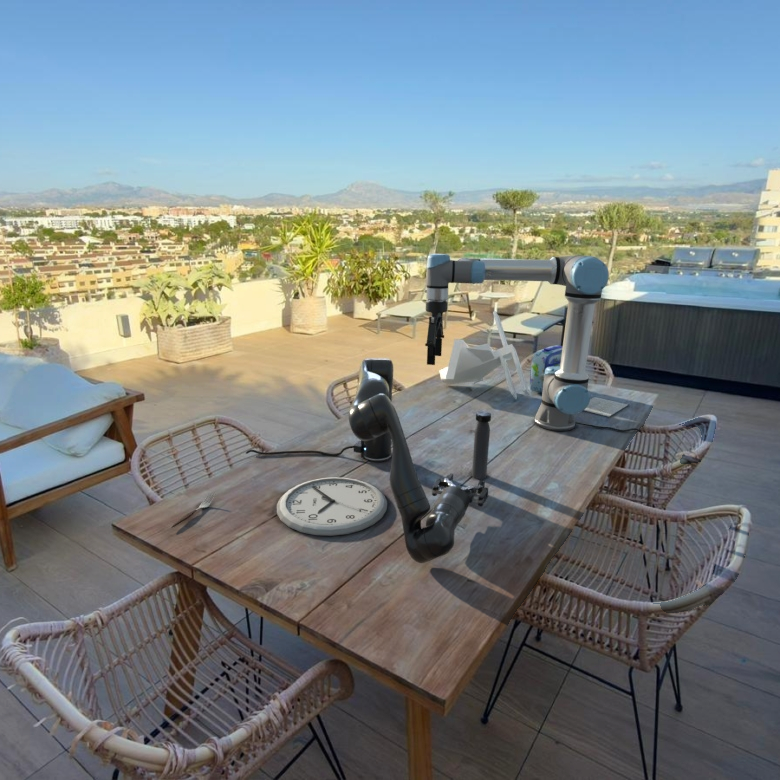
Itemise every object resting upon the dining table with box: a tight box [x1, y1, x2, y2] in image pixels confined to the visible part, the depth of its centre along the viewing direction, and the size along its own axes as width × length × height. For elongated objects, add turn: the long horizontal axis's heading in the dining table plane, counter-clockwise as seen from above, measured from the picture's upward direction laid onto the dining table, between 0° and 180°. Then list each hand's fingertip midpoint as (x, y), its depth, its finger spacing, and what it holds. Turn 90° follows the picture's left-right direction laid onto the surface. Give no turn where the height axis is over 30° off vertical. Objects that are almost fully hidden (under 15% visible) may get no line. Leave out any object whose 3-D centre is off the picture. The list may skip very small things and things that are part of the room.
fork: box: [171, 493, 217, 529], centre depth 137 cm, size 3×16×2 cm, turn 160°
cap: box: [475, 410, 492, 423], centre depth 156 cm, size 4×4×2 cm
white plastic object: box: [438, 310, 531, 400], centre depth 245 cm, size 37×45×31 cm
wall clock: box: [276, 476, 388, 537], centre depth 142 cm, size 30×2×30 cm
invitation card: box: [583, 396, 629, 418], centre depth 226 cm, size 21×1×15 cm
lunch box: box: [529, 345, 563, 394], centre depth 245 cm, size 26×11×21 cm, turn 134°
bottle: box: [471, 421, 491, 480], centre depth 158 cm, size 4×4×20 cm
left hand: (466, 479), depth 145 cm, fingers open, 8 cm apart
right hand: (434, 360), depth 186 cm, fingers open, 13 cm apart
